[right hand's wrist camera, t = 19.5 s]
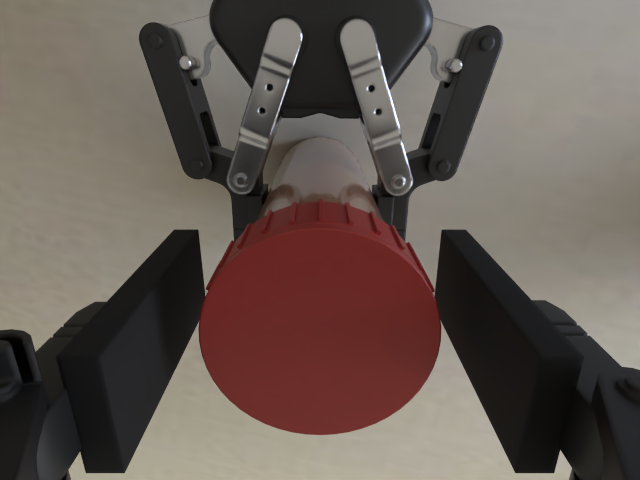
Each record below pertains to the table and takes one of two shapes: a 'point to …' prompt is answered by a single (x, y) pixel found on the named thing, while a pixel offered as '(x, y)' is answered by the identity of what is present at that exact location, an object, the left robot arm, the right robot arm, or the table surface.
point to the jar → (319, 178)
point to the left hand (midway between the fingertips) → (318, 264)
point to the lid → (319, 320)
